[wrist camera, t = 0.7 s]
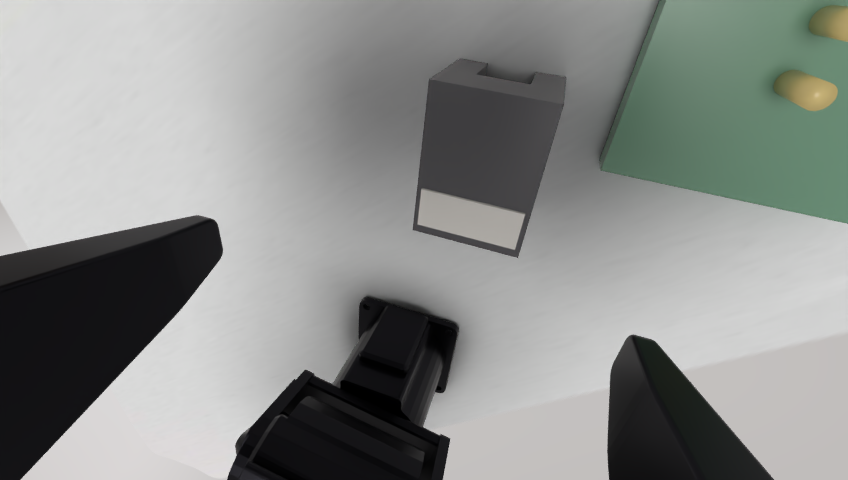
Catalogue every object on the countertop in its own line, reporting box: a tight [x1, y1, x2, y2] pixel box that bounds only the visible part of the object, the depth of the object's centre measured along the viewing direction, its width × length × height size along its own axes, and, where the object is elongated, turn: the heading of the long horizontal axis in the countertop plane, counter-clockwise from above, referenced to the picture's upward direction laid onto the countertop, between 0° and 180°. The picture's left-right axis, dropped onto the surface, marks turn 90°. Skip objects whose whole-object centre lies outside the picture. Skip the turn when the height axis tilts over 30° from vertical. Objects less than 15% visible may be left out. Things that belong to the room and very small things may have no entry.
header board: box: [599, 0, 848, 224], centre depth 12 cm, size 12×9×3 cm
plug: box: [413, 59, 566, 258], centre depth 16 cm, size 6×4×5 cm
